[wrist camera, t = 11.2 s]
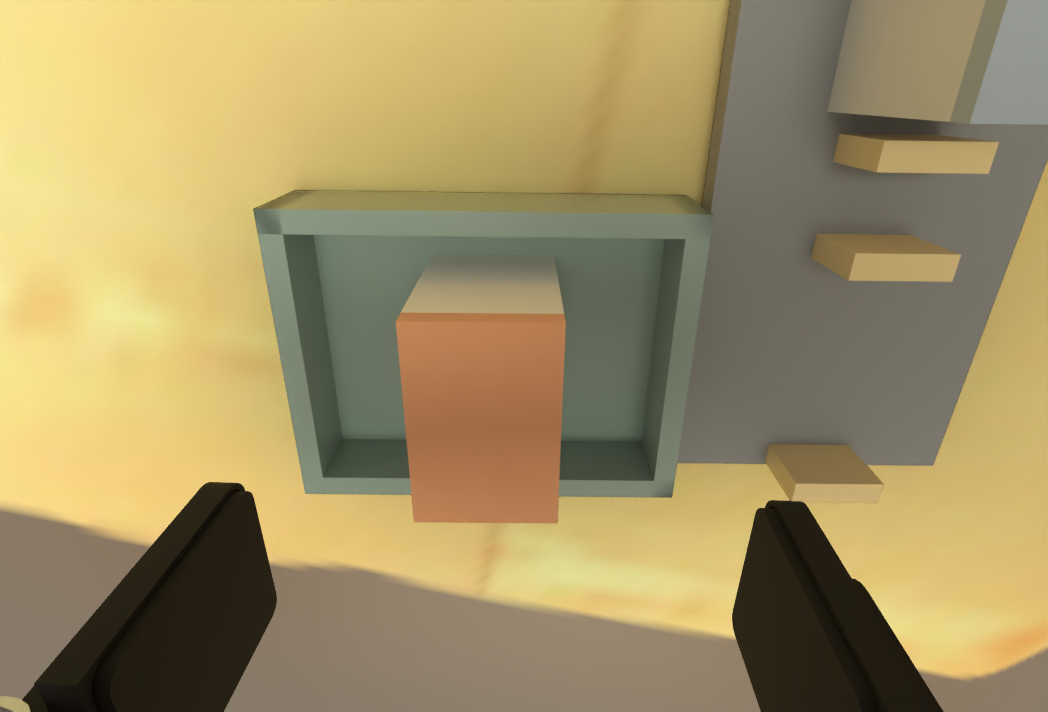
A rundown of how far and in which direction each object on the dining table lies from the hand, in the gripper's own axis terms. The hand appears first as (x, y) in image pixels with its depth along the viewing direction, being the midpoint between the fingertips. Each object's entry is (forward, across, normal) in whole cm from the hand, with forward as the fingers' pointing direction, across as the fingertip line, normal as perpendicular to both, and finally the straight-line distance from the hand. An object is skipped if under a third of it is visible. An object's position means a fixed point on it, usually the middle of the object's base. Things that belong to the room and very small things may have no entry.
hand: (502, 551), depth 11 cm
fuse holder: (+12, -11, -5) cm, 17 cm away
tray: (+11, +1, 0) cm, 11 cm away
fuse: (+10, +1, 0) cm, 10 cm away
